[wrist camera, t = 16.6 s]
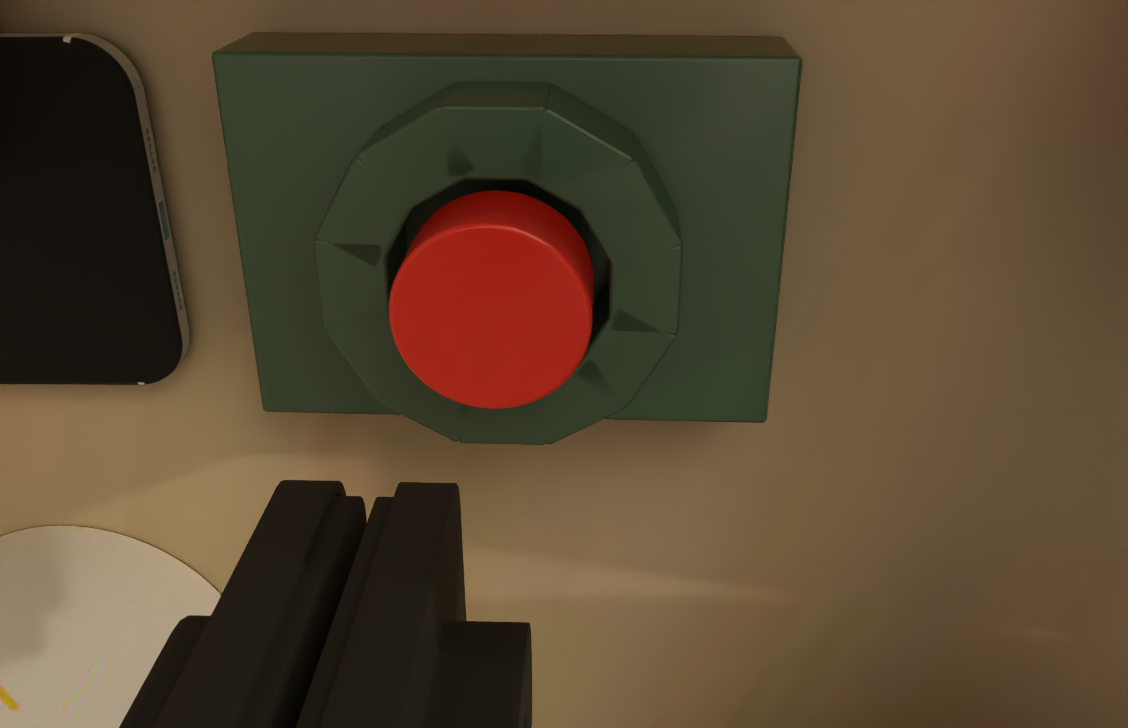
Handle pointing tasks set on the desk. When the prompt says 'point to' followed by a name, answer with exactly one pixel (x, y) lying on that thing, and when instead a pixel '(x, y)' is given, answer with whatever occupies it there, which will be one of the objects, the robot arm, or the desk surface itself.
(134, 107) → the smartphone
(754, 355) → the switch box
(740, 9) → the desk surface
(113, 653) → the cup
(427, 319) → the button
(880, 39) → the desk surface
